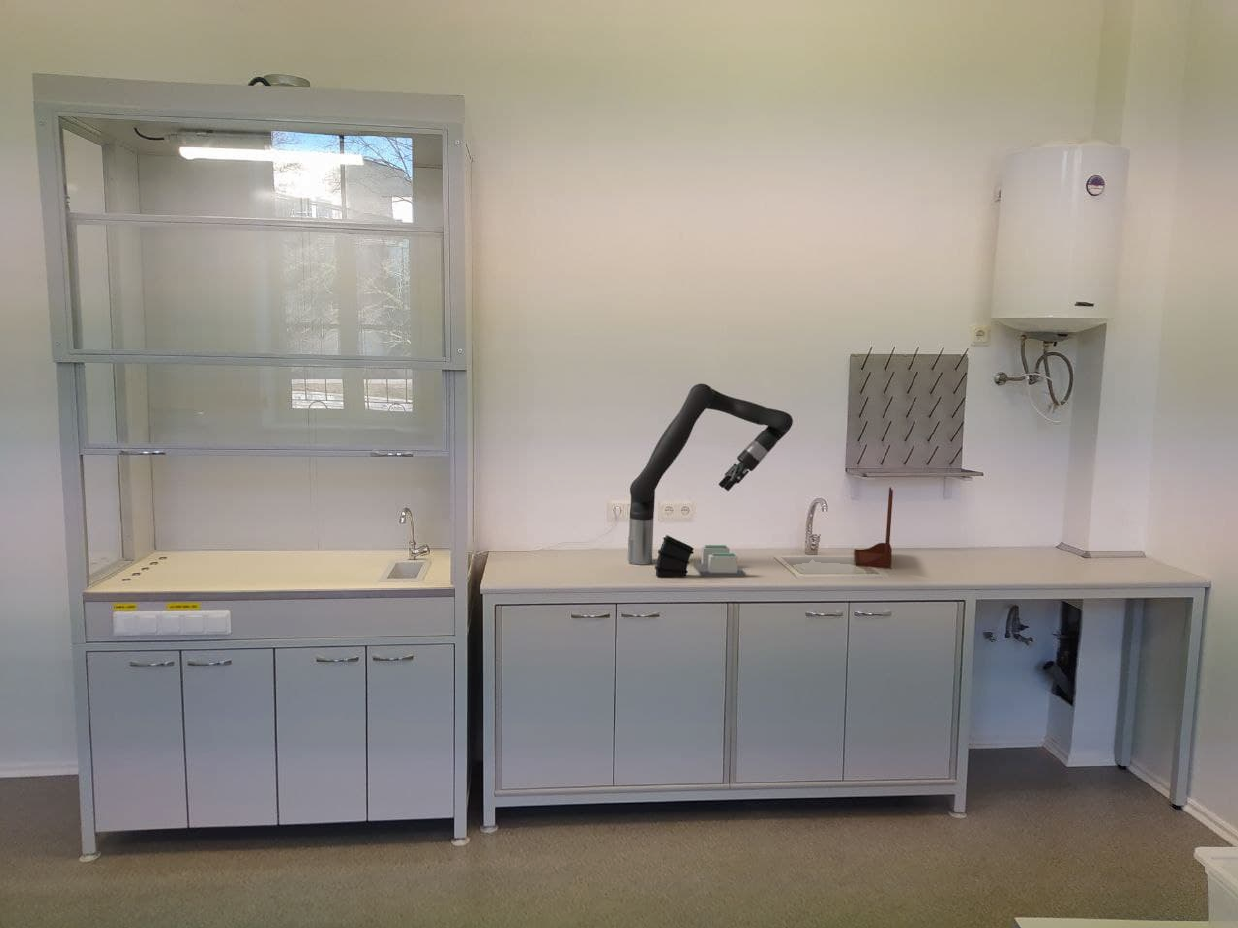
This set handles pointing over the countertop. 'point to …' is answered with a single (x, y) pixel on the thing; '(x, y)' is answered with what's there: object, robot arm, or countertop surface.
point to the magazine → (673, 558)
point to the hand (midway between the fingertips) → (723, 487)
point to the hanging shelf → (878, 547)
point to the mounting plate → (718, 562)
